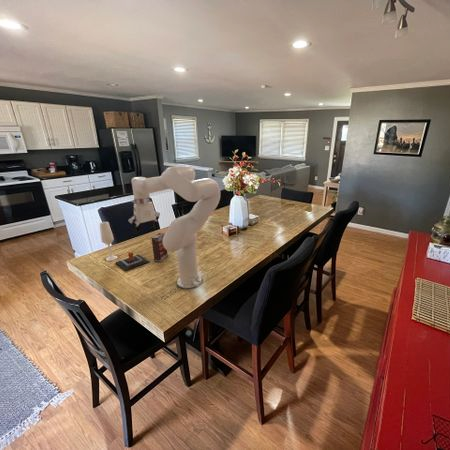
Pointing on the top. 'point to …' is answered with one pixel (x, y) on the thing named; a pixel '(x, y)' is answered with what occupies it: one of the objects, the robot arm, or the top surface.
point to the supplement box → (158, 247)
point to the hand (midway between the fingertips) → (147, 230)
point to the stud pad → (131, 258)
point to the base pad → (132, 265)
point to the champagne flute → (107, 238)
